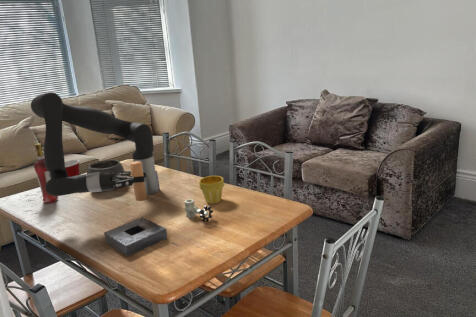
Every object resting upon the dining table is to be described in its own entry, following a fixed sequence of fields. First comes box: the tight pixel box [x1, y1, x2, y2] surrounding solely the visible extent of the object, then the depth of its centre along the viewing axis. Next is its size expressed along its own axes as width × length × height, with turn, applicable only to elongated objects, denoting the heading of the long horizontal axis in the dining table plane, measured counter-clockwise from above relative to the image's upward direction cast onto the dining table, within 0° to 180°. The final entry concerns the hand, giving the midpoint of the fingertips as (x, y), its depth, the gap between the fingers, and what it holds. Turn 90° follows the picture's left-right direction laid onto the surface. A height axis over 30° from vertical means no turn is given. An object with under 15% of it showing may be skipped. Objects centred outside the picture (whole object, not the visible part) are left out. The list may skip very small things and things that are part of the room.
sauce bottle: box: [33, 143, 59, 204], centre depth 194 cm, size 7×7×28 cm
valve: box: [184, 198, 214, 223], centre depth 164 cm, size 7×7×12 cm
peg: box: [129, 161, 148, 202], centre depth 164 cm, size 4×4×15 cm
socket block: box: [103, 216, 168, 257], centre depth 151 cm, size 16×16×4 cm
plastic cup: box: [64, 159, 80, 177], centre depth 217 cm, size 11×11×12 cm
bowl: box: [86, 159, 125, 188], centre depth 208 cm, size 18×18×13 cm
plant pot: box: [198, 175, 225, 205], centre depth 180 cm, size 10×10×10 cm
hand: (144, 176), depth 164 cm, fingers closed on peg, 4 cm apart
